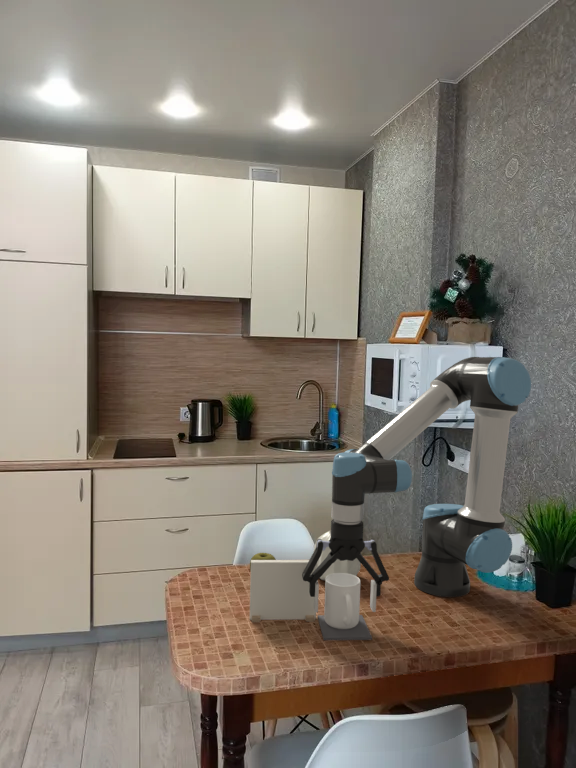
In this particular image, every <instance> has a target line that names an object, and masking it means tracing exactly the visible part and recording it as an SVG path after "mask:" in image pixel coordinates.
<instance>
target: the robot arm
mask: <svg viewBox="0 0 576 768" xmlns="http://www.w3.org/2000/svg"><path fill="white" fill-rule="evenodd" d="M429 386H430V387H429V388H428V389H426V391H424V392H423V393H422V394H421V395H420V396H419V397H418V398H416V399H415V400H414V401H413V402H411V403H410V404H409V405H408V406H407V407H405V409H403V410H402V411H401V412H400V413H398V414H397V415H396V416H395V417H394V418H392V420H390V421H389V422H388V423H387V424H386V425H384V426H383V427H382V428H381V429H380V430H378V432H376V433H375V434H374V435H373V436H372V437H371V438H369V439H368V440H367V441H366V442H365V443H363V444H362V445H361V446H359V447H358V448H351V449H348V450H345V451H344V452H339V453H337V454H335V455H334V458H333V463H332V470H331V474H332V480H331V481H332V483H331V484H332V487H331V514H330V516H331V522H330V531H331V537H330V540H329V541H322V540H321V539H318V538H317V539H318V540H317V539H316V541H317V544H316V543H315V544H316V549H315V551H314V550H313V552H312V554H311V557H310V558H309V559H308V560H309V562H308V564H307V566H306V568H305V569H304V571H303V573H302V577H303V580H304V581H308V582H309V583H310V585H309V593H310V596H311V597H314V602H313V608H314V611H315V612H316V613H319V591H320V590H319V589H320V584H319V581H318V580H320V577H321V576H322V575H323V574H324V573H325V571H326V570H327V569H328V568H329V567H330V566H331V565H332V563H334V562H335V561H336V560H337V559H339V560H340V561H344V560H349V561H353V560H354V559H356V558H357V559H358V560H359V562H360V563H361V565H362V567H364V569H365V570H366V572H368V574H369V575H370V576H371V578H372V579H371V580H370V597H369V599H370V600H369V608H370V609H371V611H372V613H376V611H377V597H381V592H382V591H381V590H382V589H381V588H382V584H383V582H388V581H389V580H390V577H389V575H388V572H387V571H386V568H385V565H384V564H383V561H382V559H381V557H380V555H379V553H378V546H377V542H376V541H375V540H374V538H370V539H369V540H364V521H363V520H364V517H365V515H364V514H365V495H366V494H367V495H368V494H382V493H383V494H384V493H385V494H386V493H395V494H396V493H398V492H404V491H407V490H409V488H410V487H411V485H412V481H413V473H412V468H411V466H410V464H409V463H408V462H407V461H406V460H403V459H394V458H393V457H396V455H397V454H399V452H401V450H403V449H405V447H407V446H408V445H409V444H411V442H413V440H414V439H416V438H417V437H418V436H419V435H420V434H422V432H423V431H425V430H426V429H427V428H428V427H429V426H431V425H432V424H433V423H434V422H435V421H437V420H438V419H439V418H440V417H441V416H442V415H443V414H445V413H446V412H447V411H448V410H449V409H453V410H454V409H456V408H457V407H458V406H459V405H461V404H462V403H465V402H467V401H470V403H469V408H470V409H471V410H472V412H473V413H474V422H473V429H472V430H473V431H472V439H471V448H470V456H469V463H468V471H467V472H468V473H467V481H466V489H465V499H464V505H462V504H456V503H434V504H433V503H432V504H428V505H427V506H425V507H424V509H423V514H422V535H421V536H422V539H421V541H422V542H421V557H420V561H419V563H418V564H417V568H416V571H415V573H414V578H413V580H414V582H413V584H414V585H415V587H416V588H417V589H418V590H420V591H421V592H424V593H426V594H429V595H433V596H436V597H443V598H459V597H464V596H467V595H468V594H469V593H470V591H471V579H470V576H469V573H468V569H467V566H468V567H469V568H471V569H473V570H477V571H479V572H481V573H493V572H496V571H498V570H500V569H501V568H502V567H503V566H505V564H506V563H507V562H508V560H509V559H510V557H511V554H512V550H513V540H512V538H511V537H510V535H509V533H508V532H507V531H506V530H505V521H506V519H505V517H504V516H503V515H502V514H501V512H500V510H501V503H502V502H501V501H502V495H503V494H502V492H503V484H504V477H505V476H504V475H505V470H506V469H505V467H506V460H507V458H506V457H507V450H508V442H509V441H508V440H509V432H510V425H511V424H510V423H511V419H512V418H513V417H515V415H517V414H518V412H519V406H520V405H522V404H523V403H524V402H526V399H528V398H529V396H530V394H531V390H532V379H531V375H530V373H529V370H528V369H527V368H526V367H525V365H524V364H523V362H521V361H520V360H518V359H515V358H511V357H504V356H494V357H493V356H492V357H491V356H489V357H488V356H485V357H484V356H483V357H482V356H470V357H467V358H464V359H462V360H459V361H457V362H456V363H453V364H452V365H451V366H449V367H448V368H446V369H445V370H444V371H442V372H441V373H440V374H439V375H438V376H437V377H435V378H434V379H433V380H431V381H430V384H429ZM392 458H393V459H392ZM326 547H329V548H330V549H331V552H330V553H329V554H328V556H327V557H326V558H325V559H324V561H323V562H322V563H321V564H320V565H319V566H318V567H317V569H316V570H315V571H314V572H313V573H312V571H313V569H314V567H315V565H316V564H317V562H318V560H319V558H320V556H321V554H322V551H324V550H325V549H326ZM365 548H366V549H367V551H369V552H370V553H371V555H372V557H373V560H374V561H375V564H376V565H377V566H376V567H377V568H378V570H379V573H380V574H378V573H377V572H376V570H375V569H374V568H373V567H372V565H371V564H370V563H369V562H368V560H367V559H366V558H365V556H363V554H362V551H363V550H364V549H365ZM466 565H467V566H466ZM311 573H312V574H311Z"/></svg>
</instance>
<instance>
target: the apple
mask: <svg viewBox="0 0 576 768" xmlns="http://www.w3.org/2000/svg"><path fill="white" fill-rule="evenodd" d="M251 560H277V558H276V557H275V556H274V555H273V554H271V553H268V552H259V553H256V554H253V555H252V557H251V559H250V561H249V570H250V571H249V572H251Z"/></svg>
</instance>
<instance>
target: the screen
mask: <svg viewBox="0 0 576 768" xmlns="http://www.w3.org/2000/svg"><path fill="white" fill-rule="evenodd" d="M309 560H310V559H276V560H251V559H250V561H251V571H250V589H249V591H250V592H249V621H251V623H260V622H261V620H263V621H266V620H270V621H271V620H278V621H279V620H305V622H308V623H309V622H311V623H313V622H315V620H316V619H317V612H315V611H314V608H313V602H314V597H311V596H310V593H309V585H310V583H309V582H308V581H304V580H303V577H302V573H303V571H304V569H305V568H306V566H307V564H308V562H309ZM317 566H318V562H317V564H316V565H315V567H314V569H313V571H312V573H313V572H314V571H315V570H316V569H317ZM312 573H311V574H312Z"/></svg>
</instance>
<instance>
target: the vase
mask: <svg viewBox="0 0 576 768" xmlns="http://www.w3.org/2000/svg"><path fill="white" fill-rule="evenodd" d="M330 537H331V530H328V531H326V532H325V533H322V535H320V536H318V537H317V539H316V541H315V543H314V544H315V545H314V548H313V552H314V551H315V549H316V544H317V540H318V539H321V540H322V541H329V540H330ZM330 552H331V549H330V548H329V547H326V549H325V550H324V551H322V554H321V556H320V558H319V560H318V566H319V565H320V564H321V563H322V562H323V561H324V559H325V558H326V557H327V556H328V554H329V553H330ZM361 565H362V564H361V563H360V562H359V560H358V559H357V558H356V559H354V560H353V561H349V560H344V561H340V560H339V559H337V560H336V561H335V562H334V563H332V565H331V566H330V567H329V568H328V569H327V570H326V571H325V573H324V574H323V575H322V576H321V577H320V578H319V580H321V581H325V578H326V576H328V575H330V574H333V573H347V574H352V575H355V576H357V575H358V573H359V572H360V571H361V567H362V566H361ZM318 566H317V567H318ZM357 577H358V576H357Z"/></svg>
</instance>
